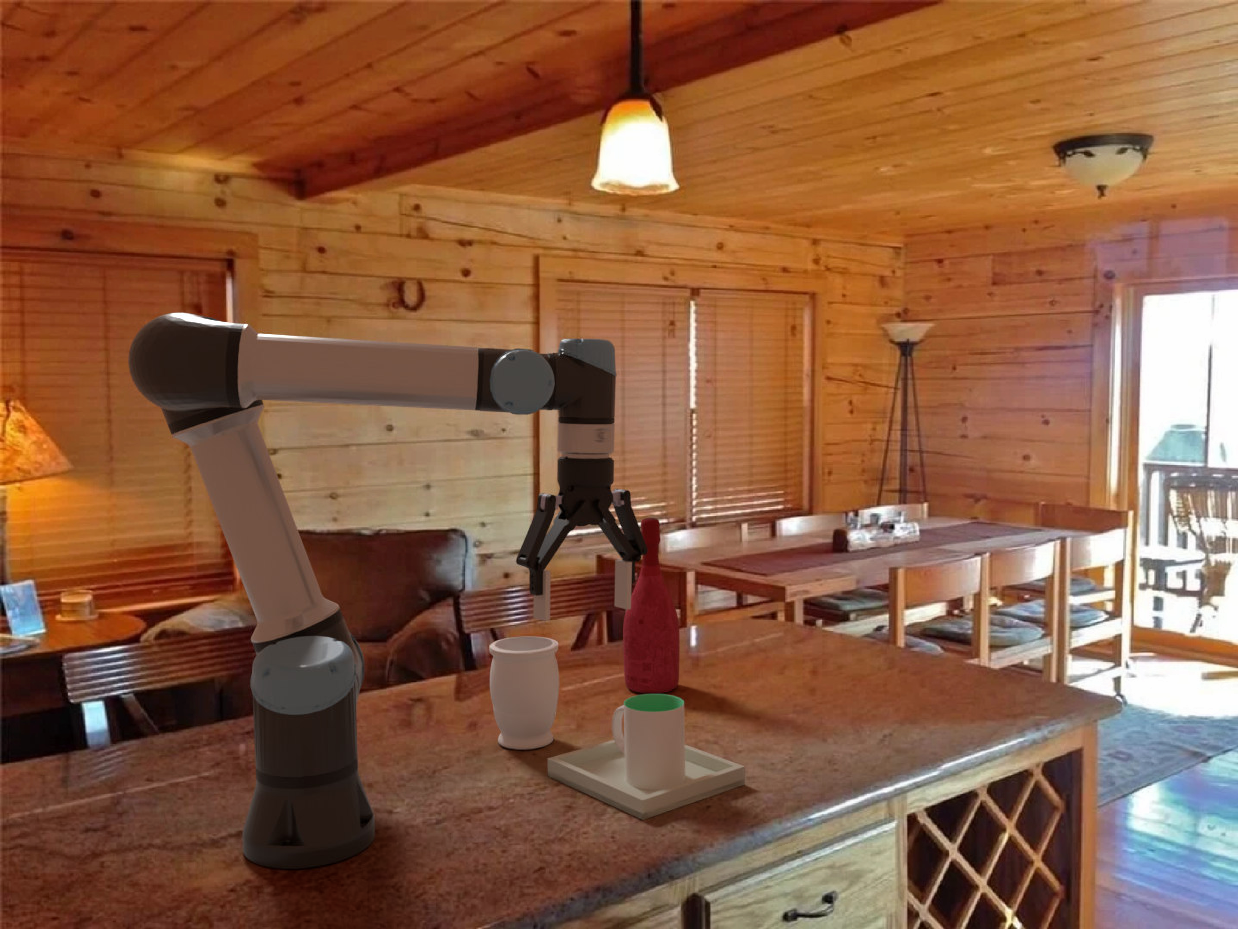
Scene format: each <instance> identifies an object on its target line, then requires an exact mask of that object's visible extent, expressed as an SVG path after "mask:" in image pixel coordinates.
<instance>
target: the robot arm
mask: <svg viewBox="0 0 1238 929" xmlns="http://www.w3.org/2000/svg"><path fill="white" fill-rule="evenodd" d="M127 363H128V368H129V374H130V377H131V380H132V382H133V384H134V385H135V387H136V389H137V390H138V392H140V394H141V395H142V396H143V397H144V398H145V399H146V400H148V401H149V402H150V403H151V404H154V405H156V406H157V407H159V408H160V410H161V411H162V415H163V417H164V419H165V422H166V424H167V427H168V430H169V432H170V434H171V436H172V438H174V439H176V440H179V441H180V442H183V443H185V444H186V445H187V446H188V447H189V448H190V450H191V453H192V456H193V458H194V460H195V464H196V466H197V470H198V471H199V474H200V477H201V479H202V481H203V484H204V486H205V489H206V492H207V494H208V497H209V500H210V502H211V504H212V508H213V510H214V512H215V515H216V518H217V520H218V523H219V525H220V528H221V531H222V533H223V536H224V538H225V541H226V543H227V546H228V549H229V551H230V553H231V556H232V559H233V562H234V564H235V566H236V569H237V572H238V574H239V577H240V579H241V580H240V581H241V582H242V585H243V588H244V590H245V592H246V594H247V598H248V600H249V603H250V606H251V608H252V610H253V613H254V616H255V618H256V621H257V622H256V627H255V629H254V631H253V633H252V635H251V637H250V641H251V643H252V645H253V649H254V651H255V653H256V656H255V658H254V659H253V662H252V671H251V672H252V673H251V676H250V680H249V681H250V682H249V683H250V684H249V685H250V689H251V694H252V708H253V711H252V712H253V734H254V736H253V737H254V759H255V787H254V790H253V794H252V797H251V801H250V804H249V806H248V807H249V808H248V810H247V815H246V817H245V818H246V819H245V822H244V825H243V828H242V833H241V834H242V853H243V854H244V856H245V858H246V859H247V860H249V861H250V862H252V863H255V864H256V865H259V866H264V867H267V868H268V867H269V868H273V869H286V870H289V869H296V870H297V869H308V868H315V867H320V866H327V865H331V864H333V863H337V862H341V861H344V860H346V859H349V858H351V857H353V856H356V855H358V854H359V853H361V852H363V851H365V849H366V848H368V847H369V846H370V845H371V844H372V843H373V842H374V840H375V837H376V820H375V819H376V818H375V814H374V812H373V809H372V808H373V807H372V806H371V804H370V801H369V798H368V795H367V792H366V789H365V788H364V785H363V782H362V779H361V776H360V774H359V765H358V764H359V761H358V760H359V759H358V755H359V754H358V730H357V729H358V723H357V708H358V706H357V705H358V699H359V695H360V690H361V687H362V685H363V681H364V678H365V677H364V676H365V658H364V654H363V652H362V648H361V646H360V644H359V642H358V641H357V640H356V637H354V635H352V634H351V632H350V631H349V628H348V626H347V622H346V621H345V617H344V615H343V612H342V611H341V607H340V605H339V604H338V603H336V602H334V601H332V600H330V599H328V598H325V597H324V595H323V594H322V591H321V588H320V585H319V583H318V580H317V577H316V576H315V575H316V574H315V572H314V570H313V567H312V564H311V561H310V560H309V559H310V558H309V556H308V554H307V550H306V549H305V548H306V547H305V546H304V544H303V541H302V538H301V536H300V533H299V530H298V527H297V524H296V522H295V519H294V516H293V514H292V511H291V509H290V506H289V503H288V500H287V498H286V495H285V492H284V490H283V487H282V485H281V482H280V479H279V476H278V474H277V471H276V468H275V466H274V463H273V460H272V458H271V455H270V453H269V450H268V448H267V445H266V443H265V439H264V437H263V435H262V432H261V429H260V427H259V419H260V417H261V416H262V413H263V411H264V408H265V404H264V401H275V402H276V401H277V402H295V403H296V402H297V403H298V402H300V403H318V404H335V405H338V404H339V405H357V406H378V407H379V406H380V407H382V406H383V407H400V408H420V409H439V410H440V409H441V410H459V411H462V410H464V411H479V412H491V413H492V412H493V413H510V414H512V415H518V416H519V415H522V416H523V415H524V416H525V415H526V416H527V415H532V414H534V413H536V412H538V411H557V412H558V420H557V451H558V453H560V454H561V456H559V458H558V459H557V477H556V478H557V479H556V481H557V483H558V486H559V487H558V488H559V489H558V494H557V495H556V494H552V493H551V494H550V493H545V492H541V493H539V494H538V496H537V505H536V511H535V513H534V516H533V518H532V521H531V523H530V525H529V527H528V531H526V532H527V533H526V534H525V537H524V540H523V542H522V544H521V547H520V549H519V552H518V554H517V557H516V559H515V563H516V565H518V566H521V567H524V568H527V569H528V571H529V572H528V573H529V581H528V582H529V585H528V586H529V587H528V588H529V589H528V590H529V594H530V595H533V611H532V612H533V617H532V618H533V619H536V620H539V621H543V622H550V621H551V577H552V575H551V574H552V571H551V570H548V569H546V568H547V566H548V565H549V564H550V562H551V560H552V559H553V557H554V556H555V554H557V551H558V550H559V549H560V547H561V546H562V544H563V542H564V541H565V540H566V538H567V537H568V535H569V534H570V532H572V531H573V530H574V529H575V528H576V527H586V526H588V525H590V526H598V527H599V528H600V529H601V532H603V534H604V535H605V537H606V538H607V540H608V541H609V542H610V544H611V545H612V547H613V548H614V550H615V551H616V553H617V554H618V556H619V558H621V559H615V560H614V562H615V563H614V607H616V608H620V609H623V610H627V609H631V595H632V584H634V583H635V581H636V580H635V579H636V562H640V561H641V560H642V556H643V555H646V554H647V552H648V549H647V546H646V543H645V541H644V538H643V536H642V533H641V527H640V525H639V523H638V521H637V517H636V515H635V511H634V509H633V507H632V498H631V497H632V496H631V492H630V490H629V489H621V488H614V489H613V490H612V487H611V486H612V485H613V484H614V481H615V480H614V479H615V478H614V477H615V475H614V474H615V460H614V459H613V458H612V457H610V455H611V454H613V453H614V452H615V428H616V427H615V426H616V425H615V415H616V414H615V413H616V412H615V411H616V409H615V408H616V386H617V385H616V384H617V380H616V378H617V370H616V369H617V368H616V349H615V346H614V344H613V342H611V341H610V340H608V339H604V338H603V339H600V338H563V339H561V340H560V342H559V346H558V349H557V352H552V353H550V352H549V353H548V352H547V353H539V352H536V351H534V350H533V349H528V348H513V349H508V348H493V347H491V348H490V347H484V348H483V347H477V346H476V347H475V346H461V345H445V344H444V345H443V344H429V343H415V342H414V343H413V342H399V341H398V342H396V341H381V340H368V339H367V340H366V339H365V340H364V339H350V338H349V339H348V338H335V337H320V336H319V337H317V336H316V337H315V336H301V335H286V334H272V333H271V334H269V333H259V332H257V331H256V330H255V329H254V328H253V327H252V326H251V325H250V324H249V323H236V322H235V323H234V322H225V321H221V320H219V319H216V318H215V317H210V316H204V315H197V314H193V313H188V312H171V313H167V314H163V315H158V317H155V318H154V319H152V320H149V322H147V323H146V324H144V325H143V327H141V328H140V329H139V330H138V332H137V333H136V335H135V337H134V338H133V339H132V342H131V344H130V347H129V352H128V362H127ZM611 505H613V509H614V512H615V515H616V517H617V520H618V522H619V524H620V526H619V525H618V523H617V522H616V521H617V520H616V518H615V517H614V515H613V513H612V512H611V511H610V508H611ZM558 509H559V512H558V513H557V515H556V516H555V512H556V510H558ZM554 516H555V517H554ZM552 521H553V522H552ZM552 523H553V524H552ZM551 524H552V526H551ZM550 526H551V527H550ZM621 529H622V530H621Z"/></svg>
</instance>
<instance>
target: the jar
mask: <svg viewBox="0 0 1238 929" xmlns="http://www.w3.org/2000/svg"><path fill="white" fill-rule="evenodd" d="M488 651H489V653H490V655H491V656H492V661H491V664H490V672H489V692H490V693H489V694H490V699H491V703H492V708H493V710H492V711H493V716H494V719H495V722H496V725H497V728H498V729H499V730H500V734H499V735H498V738H497V742H498V744H499V745H500V746H502V747H504V748H506V749H511V750H519V751H522V750H524V751H525V750H526V751H527V750H536V749H539V748H544V747H546V746H548V745H550V744H551V743H553V741H554V735H553V733H552V731H551V728H552V727H553V724H554V722H555V719H556V714H557V708H558V700H559V693H560V673H559V672H560V671H559V666H558V661H557V658H556V653H558V651H559V642H558V641H557V640H555V639H553V638H549V637H545V636H544V637H543V636H533V635H532V636H527V635H525V636H514V637H513V636H511V637H506V638H501V639H498V640H495V641H493V642H490V644H489V650H488Z"/></svg>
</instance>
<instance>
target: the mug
mask: <svg viewBox="0 0 1238 929" xmlns="http://www.w3.org/2000/svg"><path fill="white" fill-rule="evenodd" d="M622 724H623V727H622ZM685 726H686V725H685V700H684V699H682V698H681V697H679V696H676V695H671V694H665V693H656V694H647V693H643V694H637V695H634V696H631V697H628V698H627V699H624V701H623V705H620V706H618V707H617V708H616V709H615V710H614V712H613V715H612V719H611V734H612V737H613V740H614V741H615V744H616V746H617V747H618V749H619V750H620V751H621V752H622V753H623V754H625V781H626V782H627V783H628V784H629V785H631V786H633V787H636V788H641V789H648V790H662V789H666V788H669V787H672V786H675V785H678V784H681V783H683V782H684V781H685V745H686V744H685V742H686V740H685V739H686V738H685V737H686V734H685V729H686V728H685ZM623 728H624V729H623ZM623 730H624V731H623Z"/></svg>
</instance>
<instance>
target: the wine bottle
mask: <svg viewBox="0 0 1238 929" xmlns="http://www.w3.org/2000/svg"><path fill="white" fill-rule="evenodd" d="M660 527H661V526H660V520H659V519H658V518H655V517H645V518H643V519H642V520H641V521H640V530H641V533H642V536H643V538H644V541H645V543H646V546H647V549H648V552H647V554H646V555H642V557H641V560H642V561H641V568H640V573H639V576H638V578H637V581H636V583H635V587H634V588H633V591H632V592H631V609H625V614H624V618H623V627H622V628H623V629H622V630H623V631H622V633H623V634H622V636H623V637H622V638H623V639H622V642H623V643H622V646H623V647H622V650H623V651H622V652H623V674H624V676H623V677H624V683H625V686H626V688H627V689H629V690H630V691H632V692H636V693H640V694H665V693H667V692H671V691H673V690H674V689H676V688H677V687H678V686H679V680H680V652H681V651H680V649H681V648H680V647H681V646H680V644H681V643H680V623H679V617H678V613H677V609H676V606H675V603H674V601H673V599H672V595H671V594H670V591H669V590H668V587H667V584H666V583H665V579H664V577H663V575H662V572H661V566H660V560H659V545H660V543H661V531H660V529H661V528H660Z"/></svg>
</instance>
